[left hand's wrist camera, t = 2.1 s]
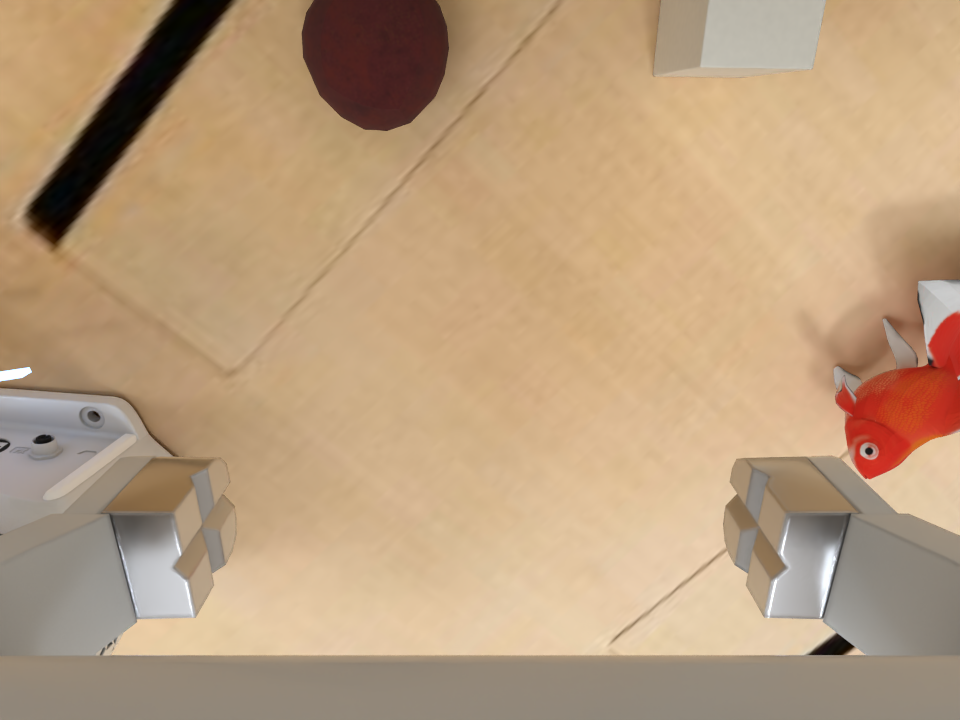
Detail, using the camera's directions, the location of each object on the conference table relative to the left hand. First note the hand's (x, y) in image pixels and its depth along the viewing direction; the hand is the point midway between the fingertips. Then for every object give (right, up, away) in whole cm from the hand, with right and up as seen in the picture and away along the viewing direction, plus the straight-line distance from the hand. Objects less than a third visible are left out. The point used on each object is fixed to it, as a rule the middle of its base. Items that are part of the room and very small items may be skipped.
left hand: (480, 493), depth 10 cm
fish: (+27, +4, +32) cm, 42 cm away
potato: (-5, +19, +25) cm, 32 cm away
